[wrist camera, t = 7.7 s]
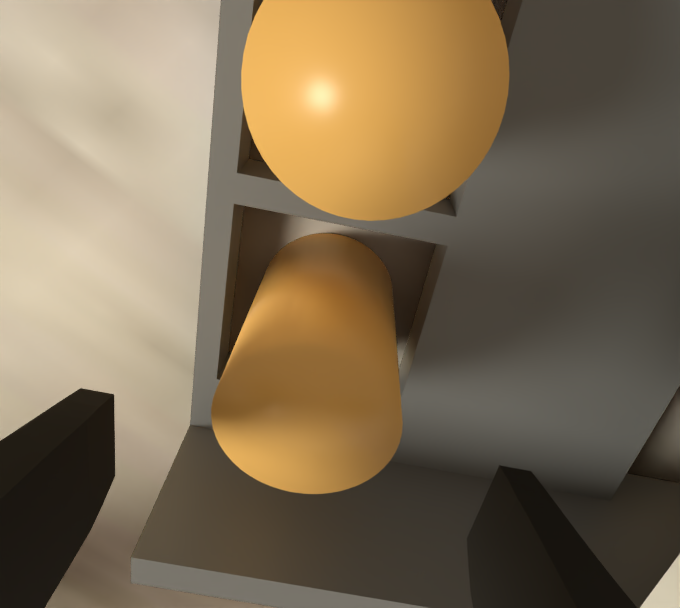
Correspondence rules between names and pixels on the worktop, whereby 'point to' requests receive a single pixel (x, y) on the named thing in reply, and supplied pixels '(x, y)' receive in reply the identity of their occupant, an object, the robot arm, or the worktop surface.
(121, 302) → the worktop surface
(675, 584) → the lid
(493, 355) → the housing
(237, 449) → the peg
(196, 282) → the worktop surface
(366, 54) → the orange rounded cylinder
